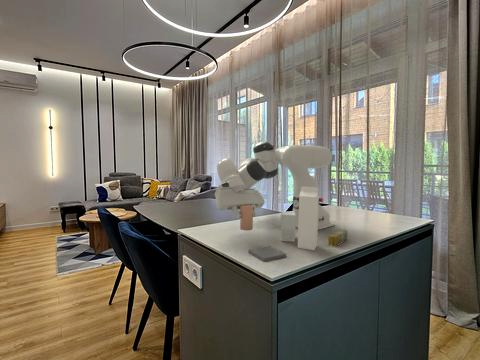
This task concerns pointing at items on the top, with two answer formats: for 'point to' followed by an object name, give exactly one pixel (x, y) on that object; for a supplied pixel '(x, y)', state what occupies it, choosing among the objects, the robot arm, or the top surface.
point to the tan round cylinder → (246, 217)
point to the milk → (308, 218)
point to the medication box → (337, 237)
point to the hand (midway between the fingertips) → (247, 216)
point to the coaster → (267, 253)
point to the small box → (288, 226)
